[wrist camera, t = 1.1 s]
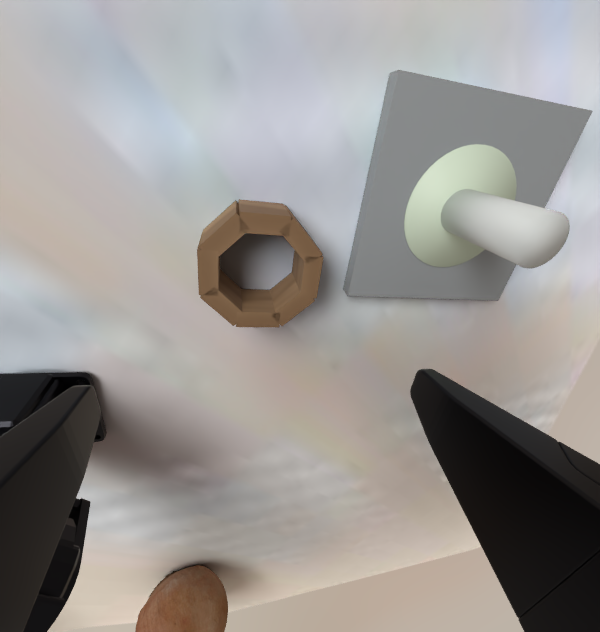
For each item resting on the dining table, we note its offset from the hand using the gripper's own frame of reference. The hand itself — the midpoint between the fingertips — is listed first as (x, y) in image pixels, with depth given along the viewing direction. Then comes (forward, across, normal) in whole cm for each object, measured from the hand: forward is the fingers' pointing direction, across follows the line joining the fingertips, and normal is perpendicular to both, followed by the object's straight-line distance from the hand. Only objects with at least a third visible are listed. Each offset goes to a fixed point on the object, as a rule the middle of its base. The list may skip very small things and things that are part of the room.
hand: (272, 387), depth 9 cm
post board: (+12, -12, -3) cm, 18 cm away
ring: (+12, 0, 0) cm, 12 cm away
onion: (+12, +7, +41) cm, 44 cm away
